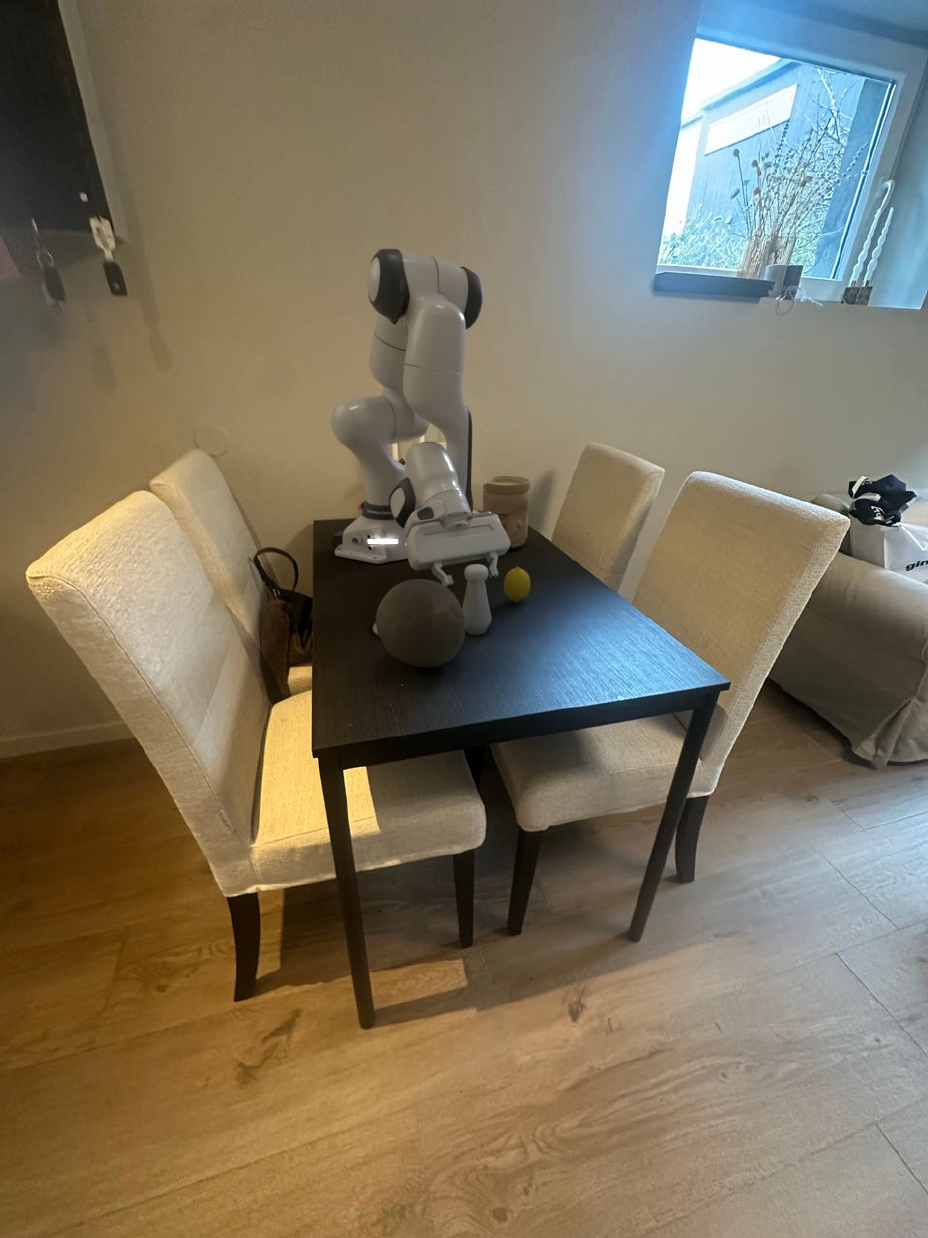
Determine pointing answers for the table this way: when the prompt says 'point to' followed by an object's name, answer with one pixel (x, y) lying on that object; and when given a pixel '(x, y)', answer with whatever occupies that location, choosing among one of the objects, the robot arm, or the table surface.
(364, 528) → the robot arm
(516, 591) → the lemon
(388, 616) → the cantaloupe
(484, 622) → the salt shaker
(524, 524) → the container
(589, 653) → the table surface
